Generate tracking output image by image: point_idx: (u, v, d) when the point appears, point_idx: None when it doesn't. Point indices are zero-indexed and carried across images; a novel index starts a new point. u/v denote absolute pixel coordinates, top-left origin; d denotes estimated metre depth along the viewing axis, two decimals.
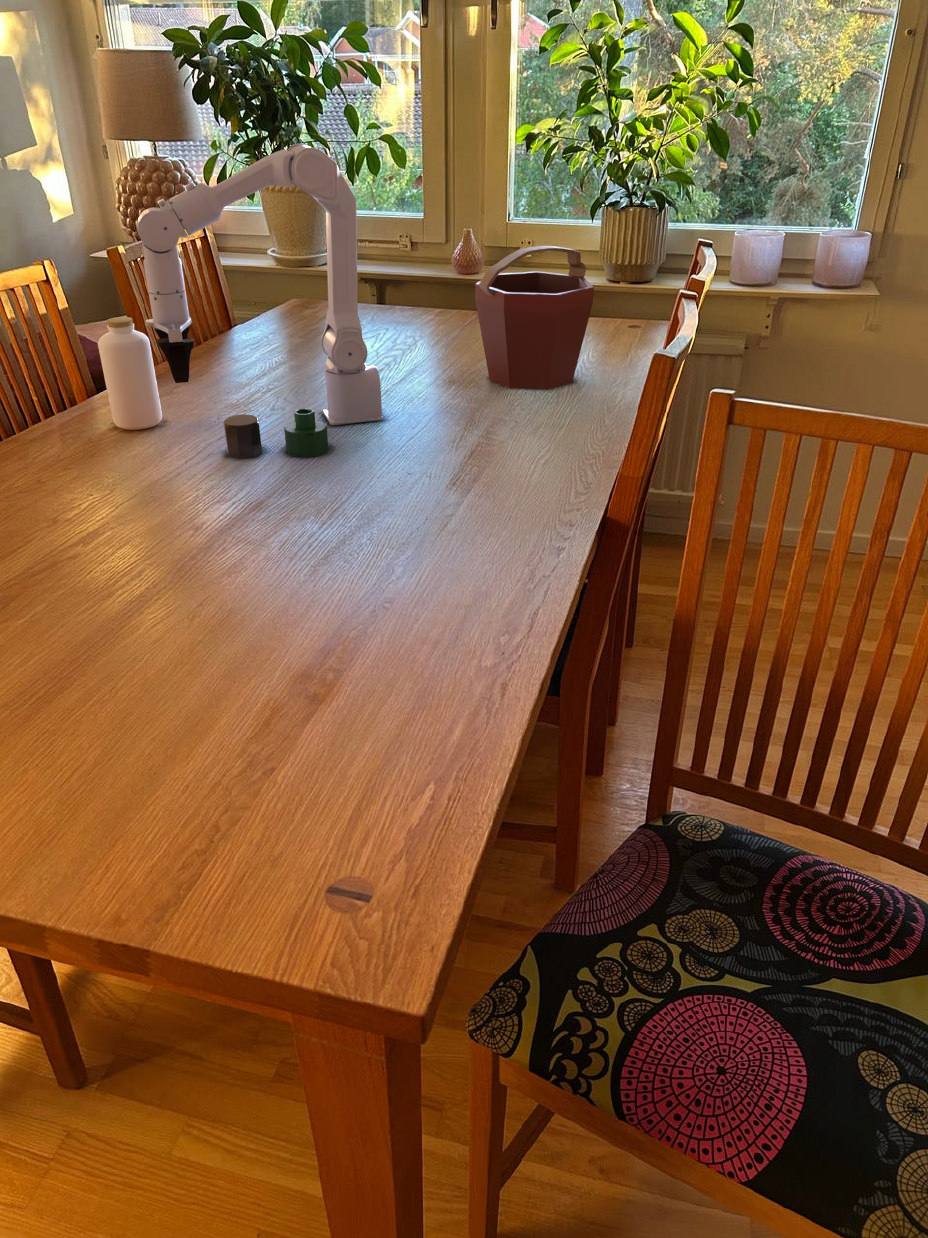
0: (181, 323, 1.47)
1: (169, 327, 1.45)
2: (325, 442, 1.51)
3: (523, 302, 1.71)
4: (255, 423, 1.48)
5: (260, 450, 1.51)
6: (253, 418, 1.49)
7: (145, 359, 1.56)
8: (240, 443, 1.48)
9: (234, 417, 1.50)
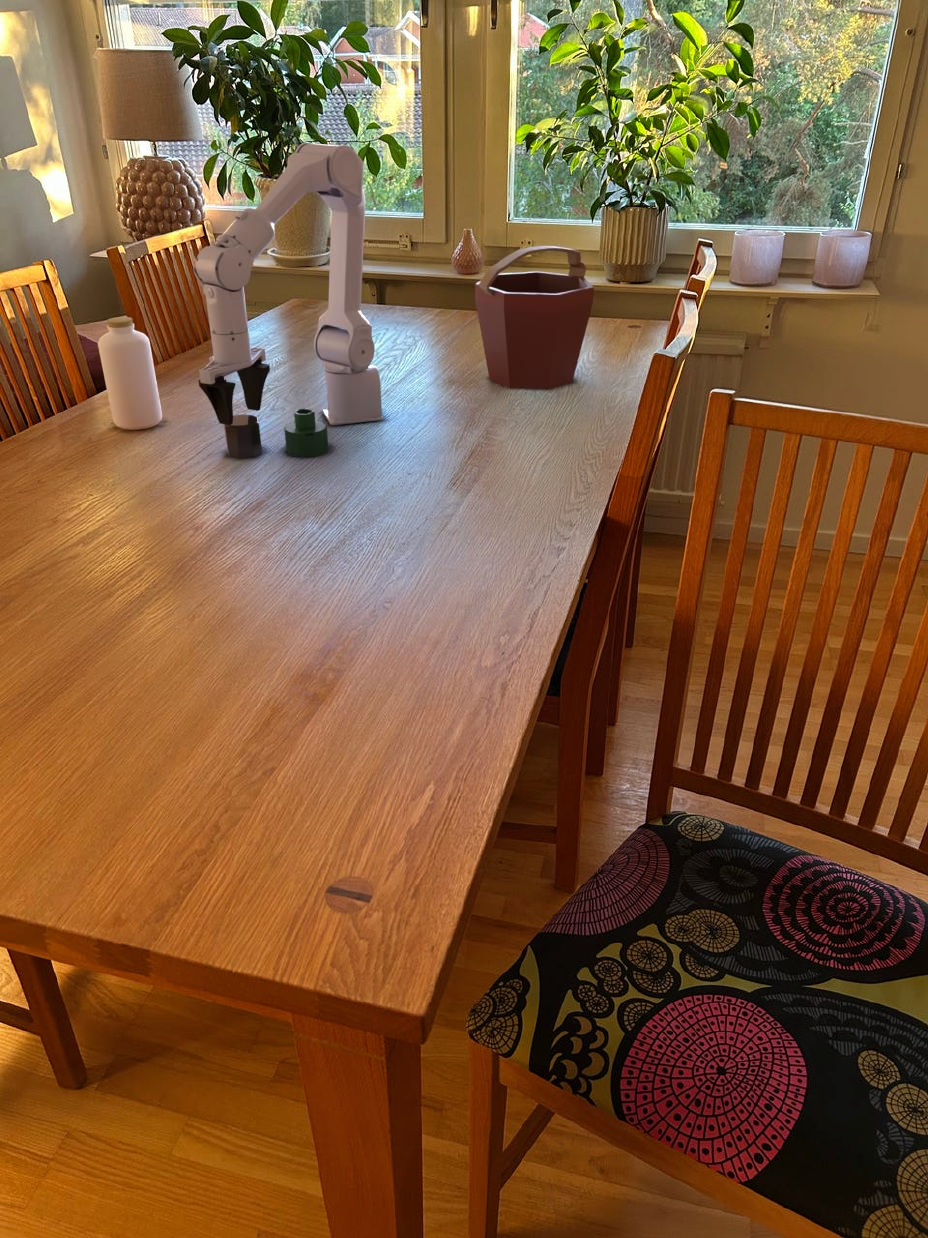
0: (229, 365, 1.41)
1: (211, 367, 1.40)
2: (325, 442, 1.51)
3: (523, 302, 1.71)
4: (255, 423, 1.48)
5: (260, 450, 1.51)
6: (253, 418, 1.49)
7: (145, 359, 1.56)
8: (240, 443, 1.48)
9: (234, 417, 1.50)
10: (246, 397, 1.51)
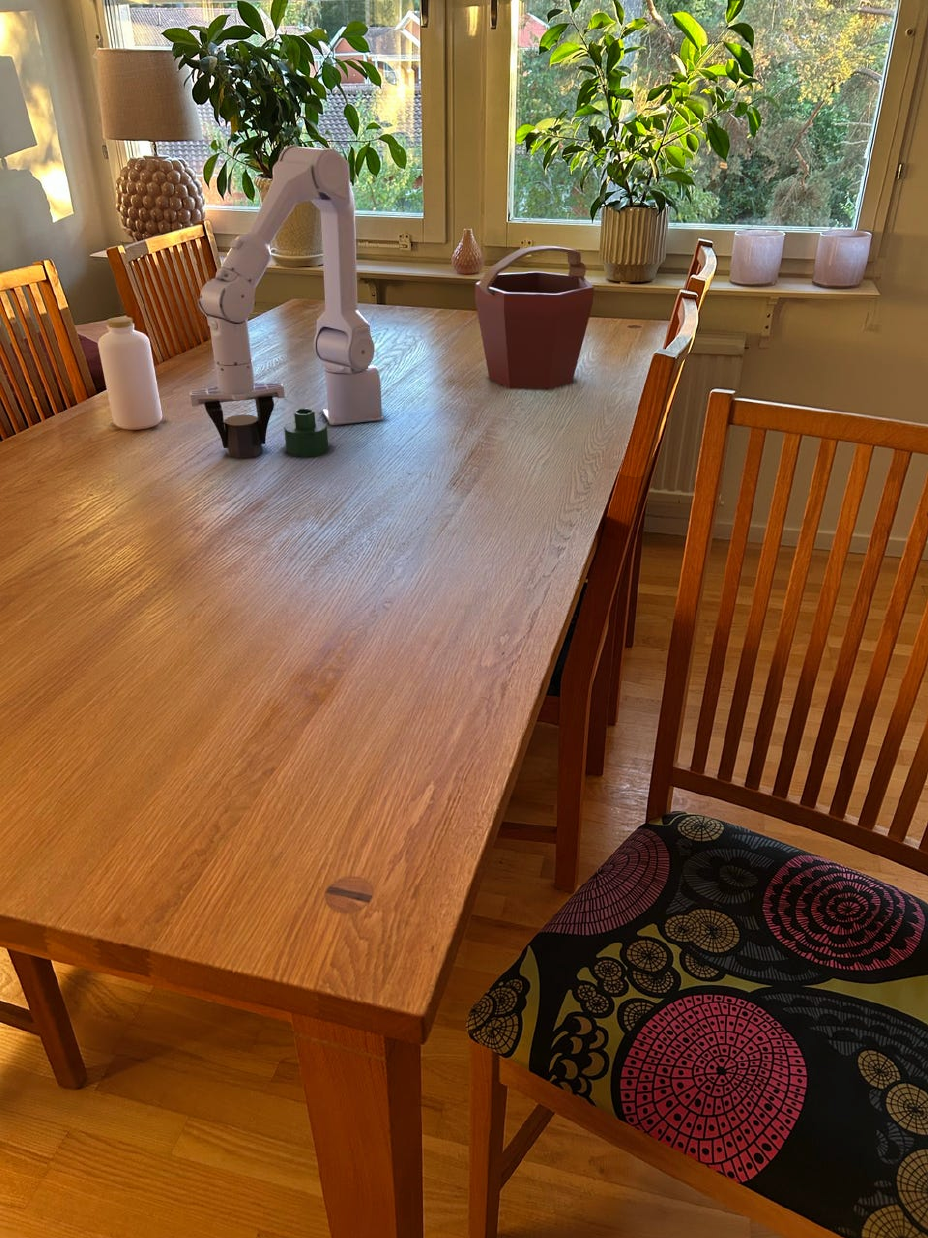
0: None
1: (267, 388, 1.47)
2: (325, 442, 1.51)
3: (523, 302, 1.71)
4: (255, 423, 1.48)
5: (260, 450, 1.51)
6: (254, 418, 1.49)
7: (145, 359, 1.56)
8: (240, 443, 1.48)
9: (234, 417, 1.50)
10: None
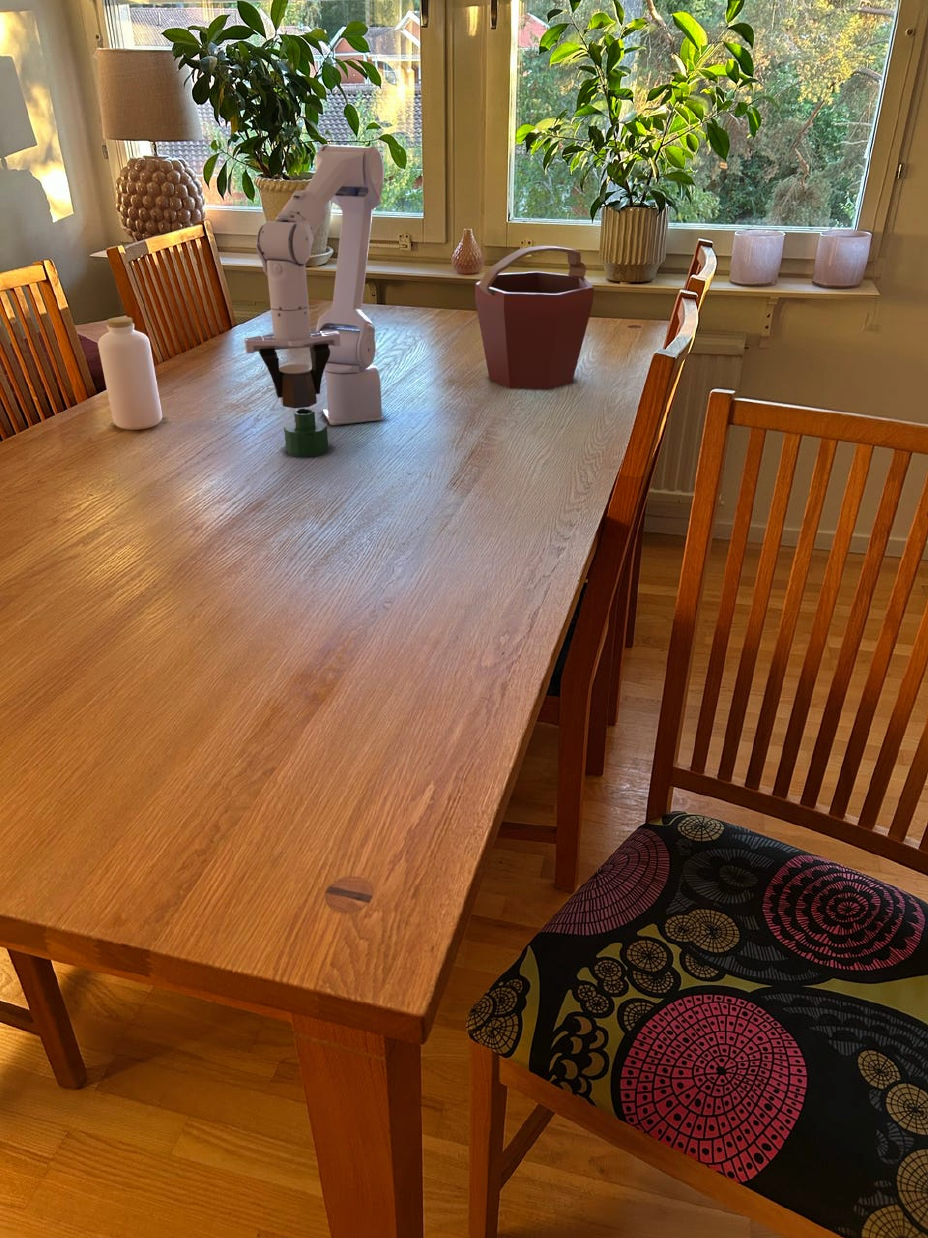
0: None
1: None
2: (325, 442, 1.51)
3: (523, 302, 1.71)
4: (311, 372, 1.45)
5: (315, 400, 1.48)
6: (308, 367, 1.46)
7: (145, 359, 1.56)
8: (295, 392, 1.45)
9: (289, 366, 1.47)
10: (280, 385, 1.45)
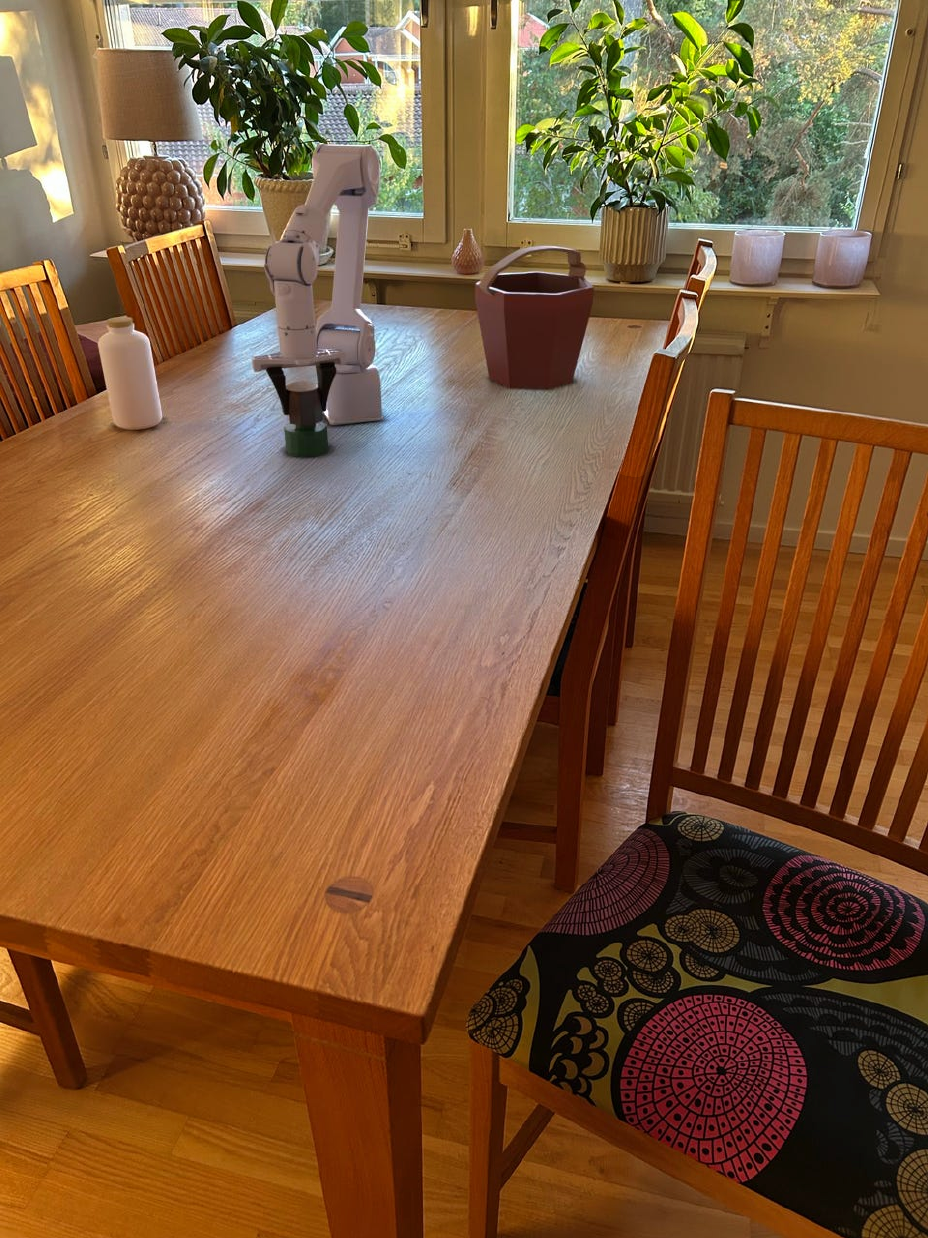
0: None
1: (329, 354, 1.46)
2: (325, 442, 1.51)
3: (523, 302, 1.71)
4: (317, 389, 1.47)
5: (321, 417, 1.49)
6: (315, 385, 1.48)
7: (145, 359, 1.56)
8: (302, 409, 1.46)
9: (295, 384, 1.48)
10: (287, 403, 1.47)
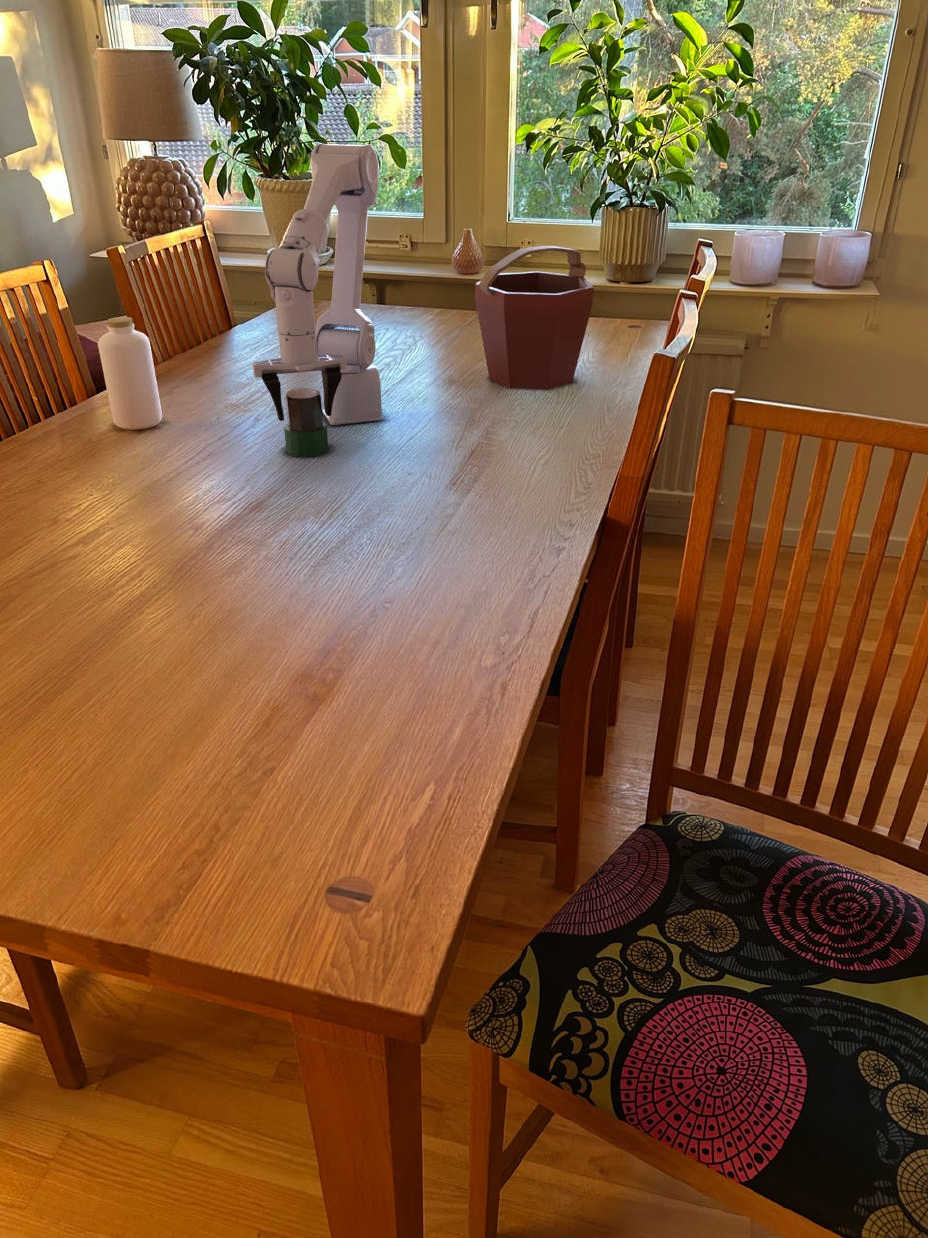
0: None
1: (330, 359, 1.46)
2: (325, 442, 1.51)
3: (523, 302, 1.71)
4: (317, 396, 1.47)
5: (321, 424, 1.50)
6: (315, 391, 1.48)
7: (145, 359, 1.56)
8: (302, 416, 1.47)
9: (296, 391, 1.49)
10: (282, 408, 1.47)
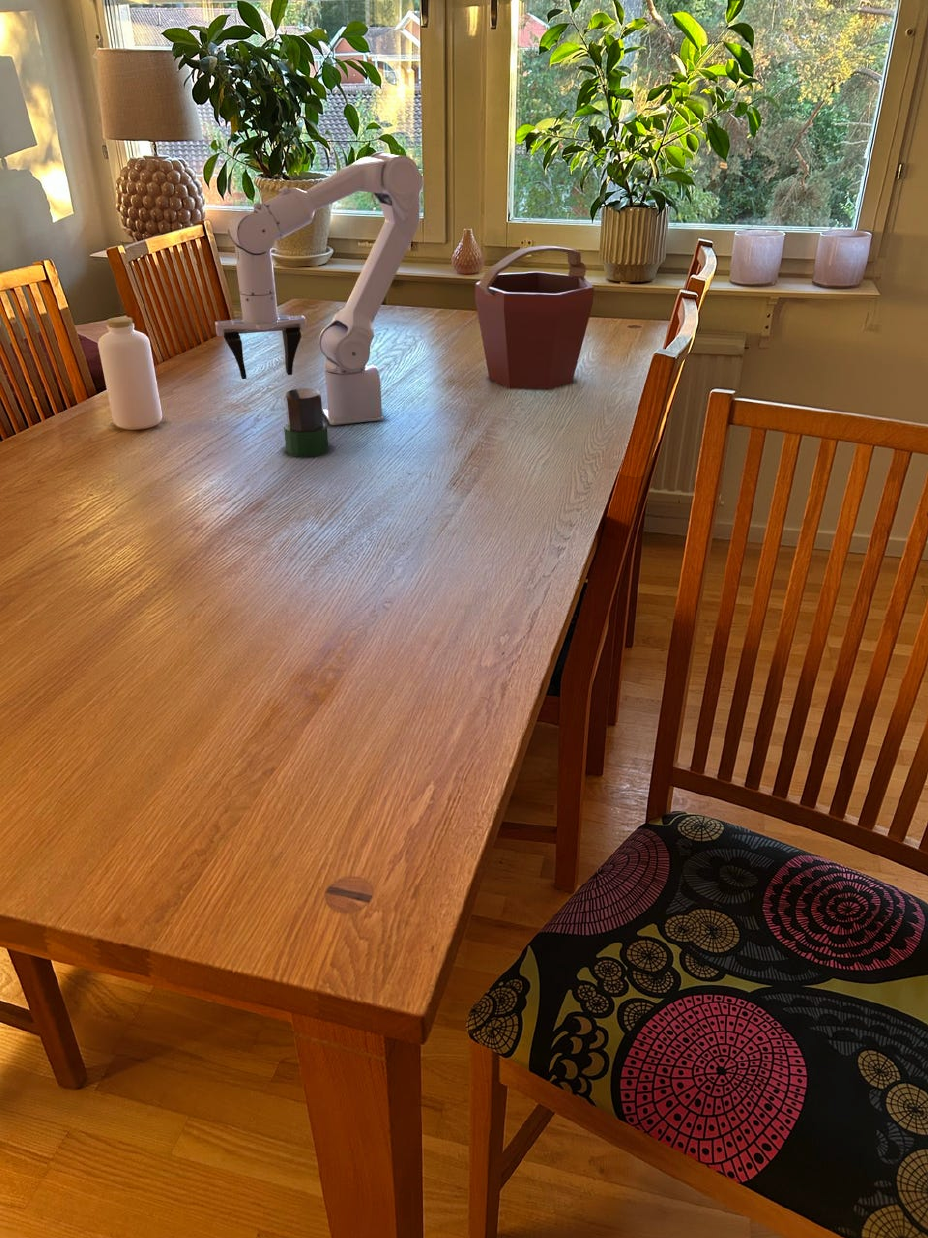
0: None
1: None
2: (325, 442, 1.51)
3: (523, 302, 1.71)
4: (317, 396, 1.47)
5: (321, 424, 1.50)
6: (315, 391, 1.48)
7: (145, 359, 1.56)
8: (302, 416, 1.47)
9: (296, 391, 1.49)
10: (244, 367, 1.54)
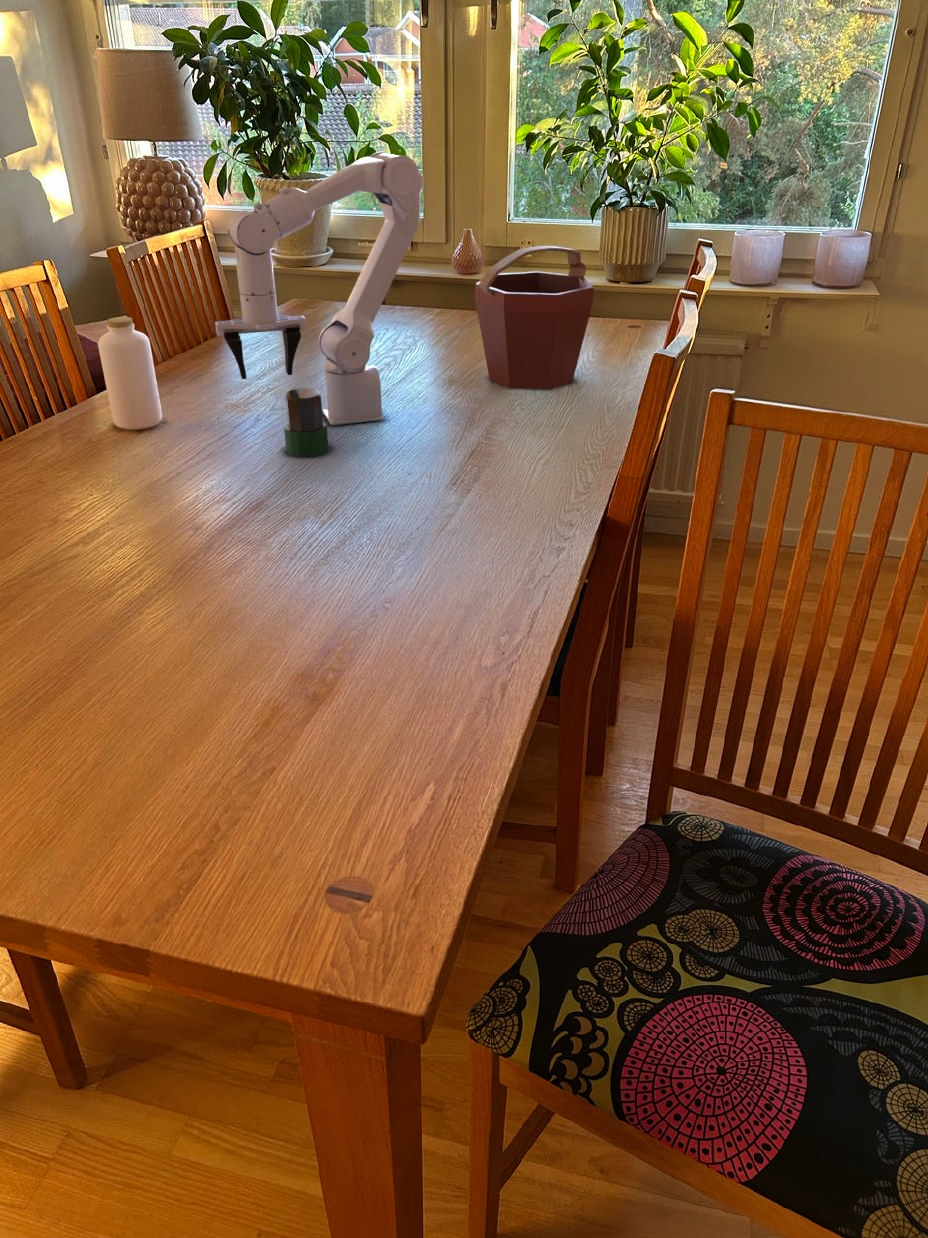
0: None
1: None
2: (325, 442, 1.51)
3: (523, 302, 1.71)
4: (317, 396, 1.47)
5: (321, 424, 1.50)
6: (315, 391, 1.48)
7: (145, 359, 1.56)
8: (302, 416, 1.47)
9: (296, 391, 1.49)
10: (244, 367, 1.54)
